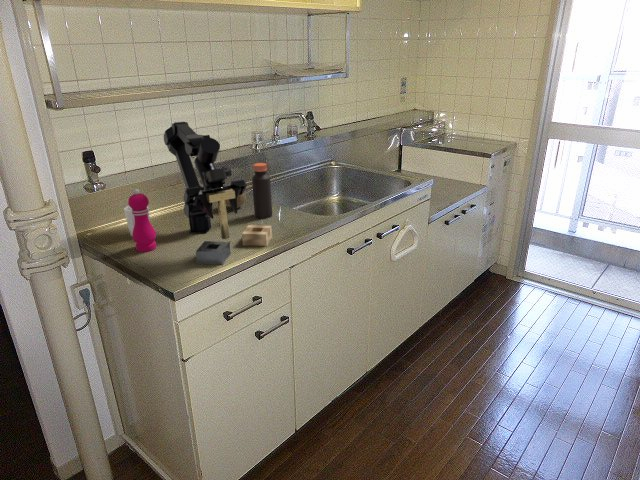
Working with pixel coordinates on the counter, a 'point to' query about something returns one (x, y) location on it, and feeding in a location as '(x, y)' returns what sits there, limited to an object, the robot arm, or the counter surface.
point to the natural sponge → (238, 200)
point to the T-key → (222, 208)
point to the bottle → (261, 191)
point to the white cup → (131, 218)
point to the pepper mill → (142, 223)
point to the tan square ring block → (257, 235)
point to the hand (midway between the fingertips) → (224, 215)
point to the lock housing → (213, 252)
